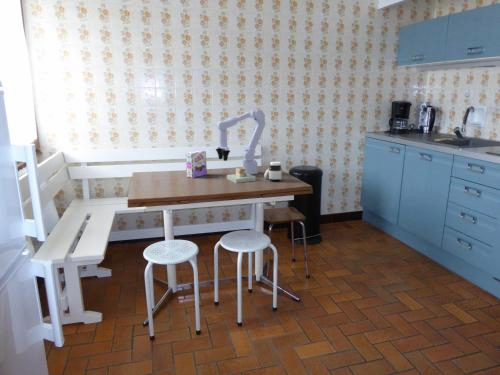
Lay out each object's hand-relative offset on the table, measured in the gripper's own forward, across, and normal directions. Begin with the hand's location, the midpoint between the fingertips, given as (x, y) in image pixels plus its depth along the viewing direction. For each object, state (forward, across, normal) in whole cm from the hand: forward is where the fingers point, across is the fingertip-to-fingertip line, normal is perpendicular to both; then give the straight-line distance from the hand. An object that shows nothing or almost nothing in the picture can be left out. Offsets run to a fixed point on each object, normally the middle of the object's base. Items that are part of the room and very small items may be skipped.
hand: (223, 159), depth 260 cm
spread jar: (+11, +30, +21) cm, 38 cm away
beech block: (+8, +19, +4) cm, 21 cm away
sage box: (+11, +19, +4) cm, 22 cm away
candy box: (+11, -6, -17) cm, 21 cm away
